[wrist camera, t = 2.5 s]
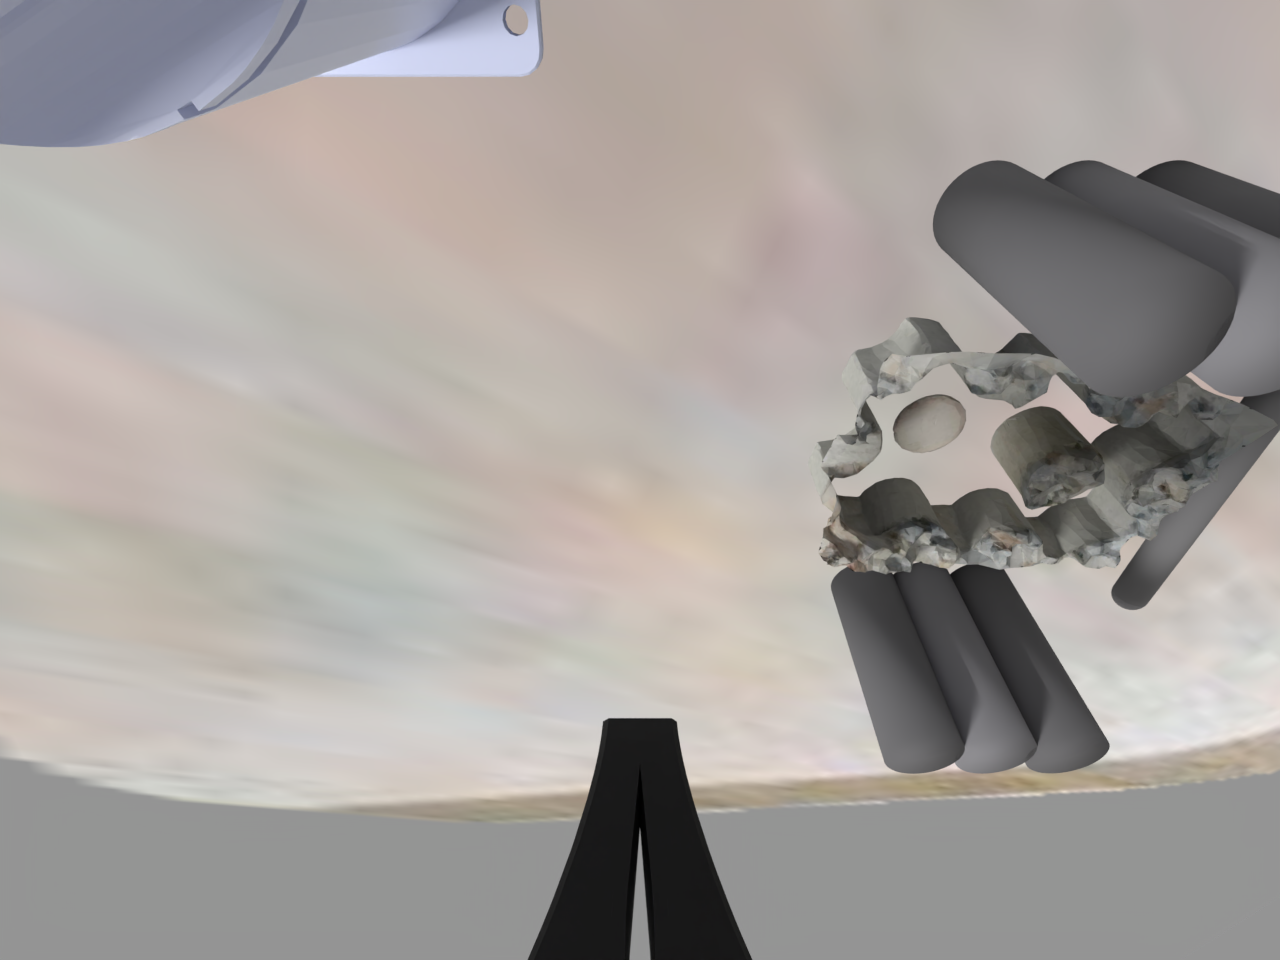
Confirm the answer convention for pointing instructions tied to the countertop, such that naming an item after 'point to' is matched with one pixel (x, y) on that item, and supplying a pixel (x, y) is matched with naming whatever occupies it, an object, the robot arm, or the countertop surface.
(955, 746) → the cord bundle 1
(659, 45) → the countertop surface
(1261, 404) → the dark grey rod
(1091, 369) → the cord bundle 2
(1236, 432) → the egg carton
